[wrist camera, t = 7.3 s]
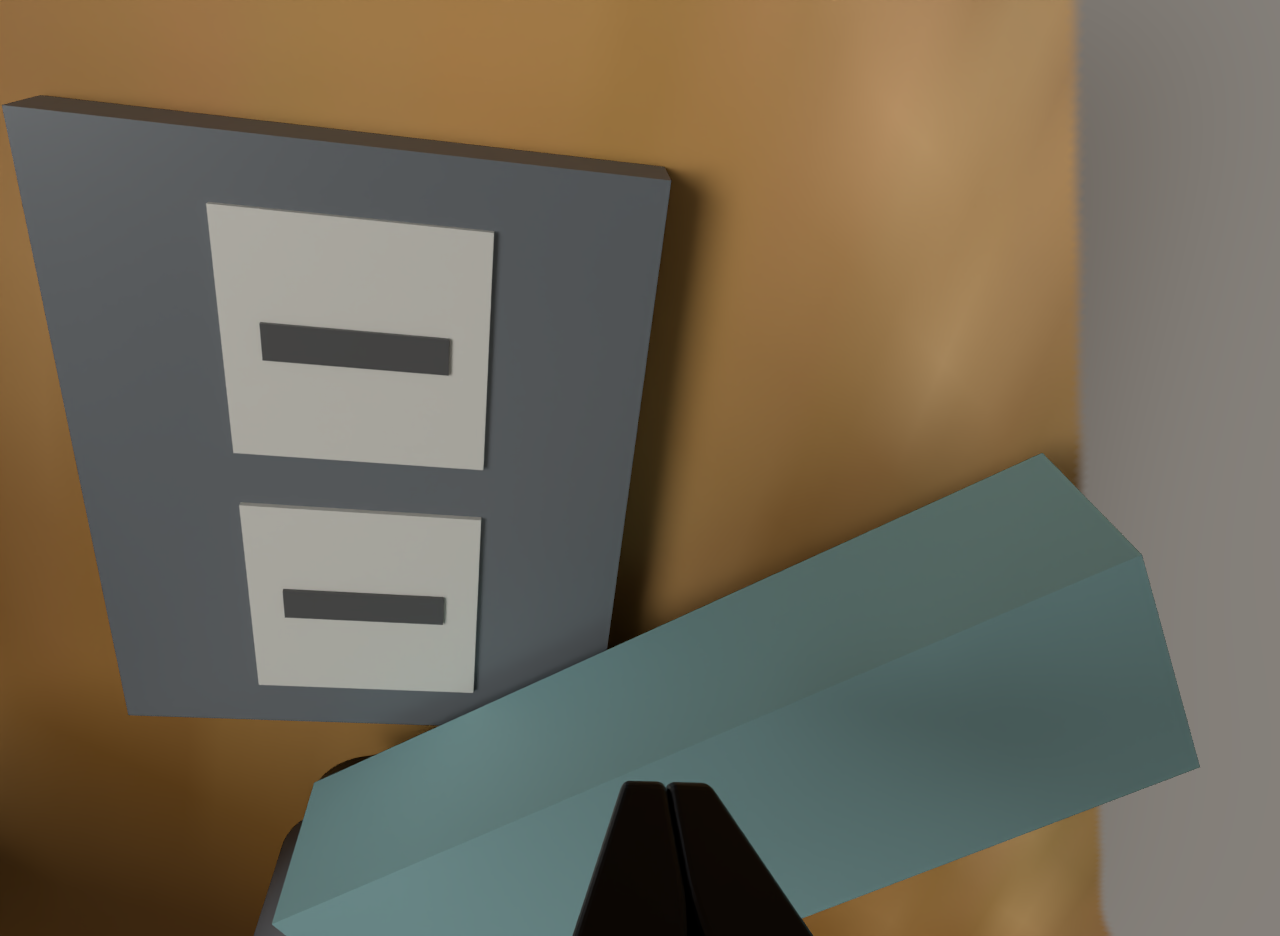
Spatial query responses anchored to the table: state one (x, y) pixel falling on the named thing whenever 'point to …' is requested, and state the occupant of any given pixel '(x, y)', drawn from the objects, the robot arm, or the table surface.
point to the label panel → (341, 402)
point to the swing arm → (781, 729)
